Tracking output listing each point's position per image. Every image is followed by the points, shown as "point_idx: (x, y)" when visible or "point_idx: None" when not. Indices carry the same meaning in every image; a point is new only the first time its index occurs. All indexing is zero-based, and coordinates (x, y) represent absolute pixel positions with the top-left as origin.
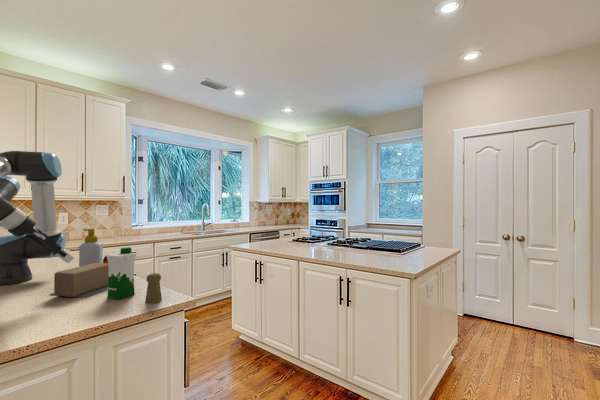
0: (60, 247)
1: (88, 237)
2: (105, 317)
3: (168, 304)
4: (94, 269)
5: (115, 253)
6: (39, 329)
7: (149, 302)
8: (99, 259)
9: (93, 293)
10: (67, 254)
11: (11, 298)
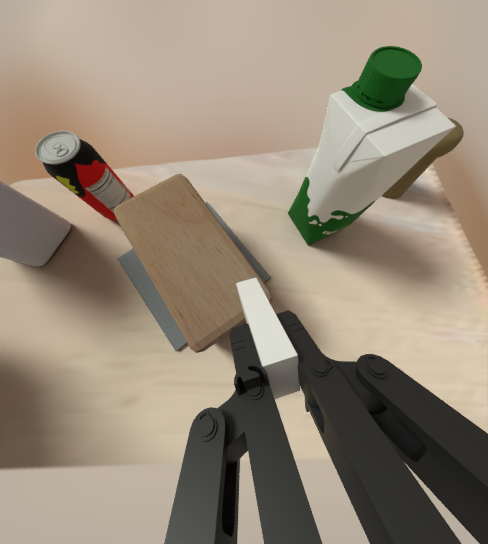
0: (394, 371)
1: None
2: (447, 272)
3: (424, 173)
4: (224, 229)
5: (372, 122)
6: (463, 387)
7: (403, 192)
8: (8, 186)
9: (256, 262)
10: (270, 307)
11: (129, 448)
